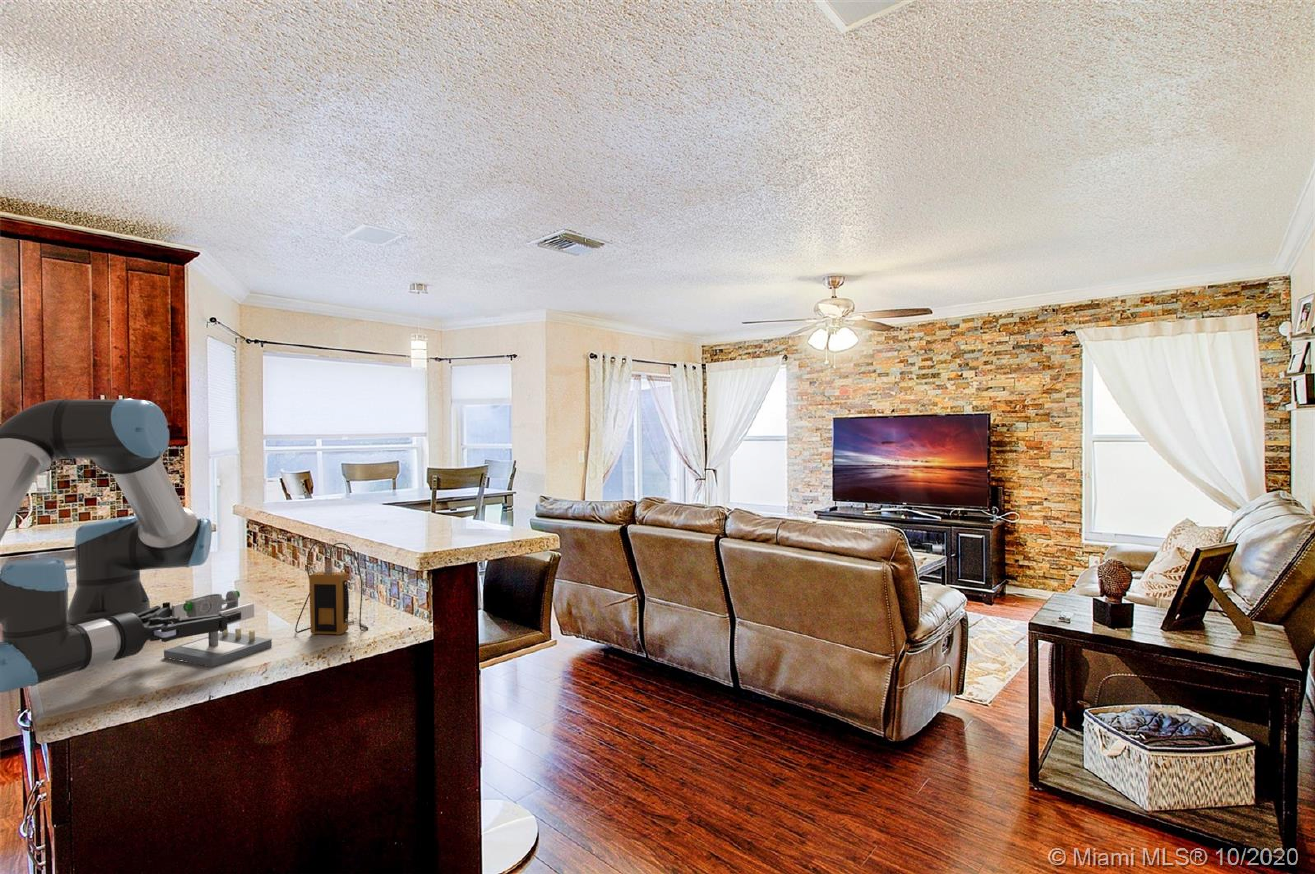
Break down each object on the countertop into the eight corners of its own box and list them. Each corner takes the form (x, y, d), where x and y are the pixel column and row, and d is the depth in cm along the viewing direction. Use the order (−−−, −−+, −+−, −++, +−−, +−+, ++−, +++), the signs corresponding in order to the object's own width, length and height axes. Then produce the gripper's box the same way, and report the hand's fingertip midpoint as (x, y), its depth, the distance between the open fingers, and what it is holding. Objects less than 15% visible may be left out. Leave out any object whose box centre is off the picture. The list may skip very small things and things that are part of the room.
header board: (163, 657, 126) (163, 640, 126) (224, 638, 137) (224, 622, 137) (212, 667, 121) (212, 648, 121) (271, 646, 132) (271, 629, 132)
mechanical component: (243, 638, 132) (242, 589, 132) (192, 655, 123) (191, 602, 123) (232, 637, 133) (231, 588, 133) (181, 653, 124) (180, 601, 124)
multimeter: (382, 621, 148) (380, 535, 148) (357, 636, 138) (356, 543, 138) (321, 620, 150) (320, 534, 149) (293, 634, 140) (291, 542, 139)
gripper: (65, 652, 116) (188, 618, 136) (155, 670, 107) (273, 631, 126) (64, 610, 116) (187, 583, 135) (154, 625, 107) (272, 593, 126)
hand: (229, 606), depth 131 cm, fingers open, 13 cm apart
